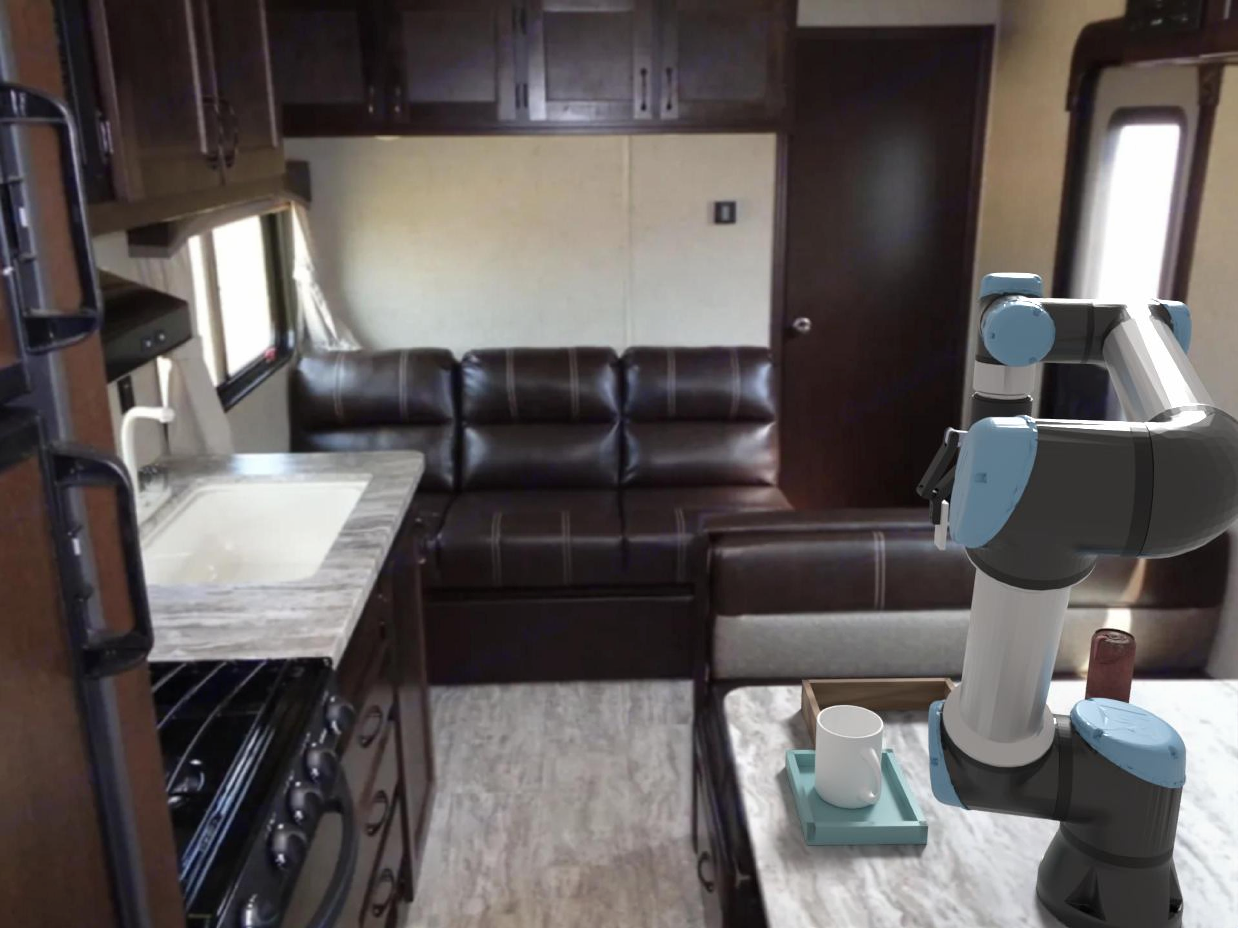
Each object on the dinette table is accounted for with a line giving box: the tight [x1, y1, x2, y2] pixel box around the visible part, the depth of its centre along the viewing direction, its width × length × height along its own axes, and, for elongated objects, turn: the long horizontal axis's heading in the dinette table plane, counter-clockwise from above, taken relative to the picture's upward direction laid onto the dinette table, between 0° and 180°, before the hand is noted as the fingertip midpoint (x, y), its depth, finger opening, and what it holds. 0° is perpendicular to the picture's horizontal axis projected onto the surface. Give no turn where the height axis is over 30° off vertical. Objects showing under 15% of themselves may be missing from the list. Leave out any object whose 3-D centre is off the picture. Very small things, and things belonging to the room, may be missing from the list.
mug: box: [814, 705, 884, 809], centre depth 137 cm, size 9×12×11 cm
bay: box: [800, 677, 956, 750], centre depth 155 cm, size 15×23×5 cm, turn 90°
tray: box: [784, 748, 929, 846], centre depth 138 cm, size 18×15×3 cm
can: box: [1084, 627, 1137, 704], centre depth 156 cm, size 6×6×14 cm
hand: (989, 546), depth 141 cm, fingers open, 13 cm apart
